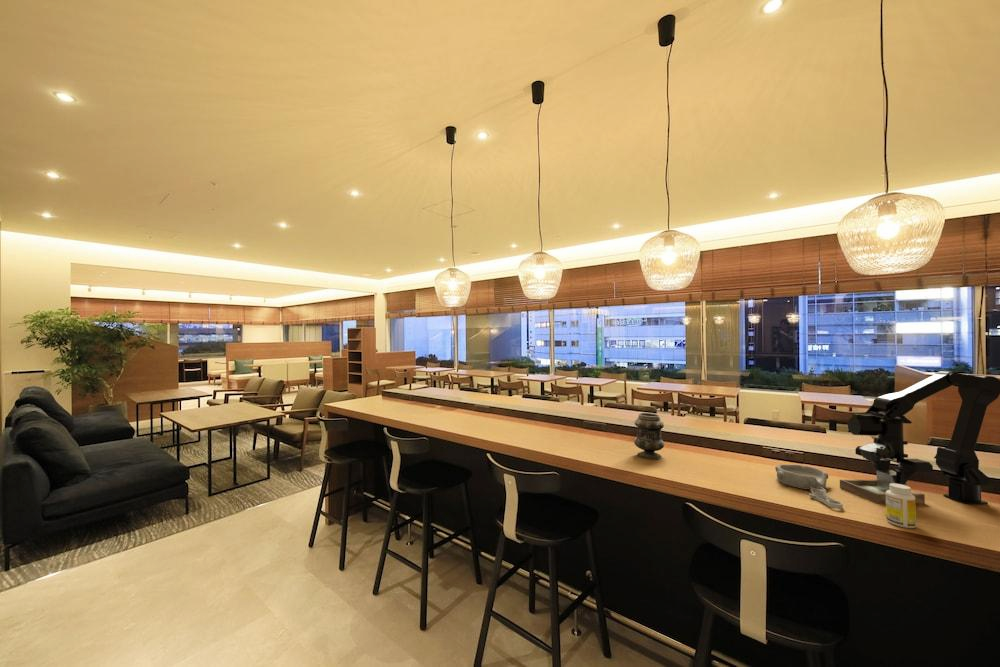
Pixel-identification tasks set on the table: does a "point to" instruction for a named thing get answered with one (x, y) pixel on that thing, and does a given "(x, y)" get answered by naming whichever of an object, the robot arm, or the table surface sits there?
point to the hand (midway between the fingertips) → (891, 485)
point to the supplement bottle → (900, 506)
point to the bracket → (824, 497)
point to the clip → (886, 478)
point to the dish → (801, 476)
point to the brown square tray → (872, 490)
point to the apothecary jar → (649, 435)
